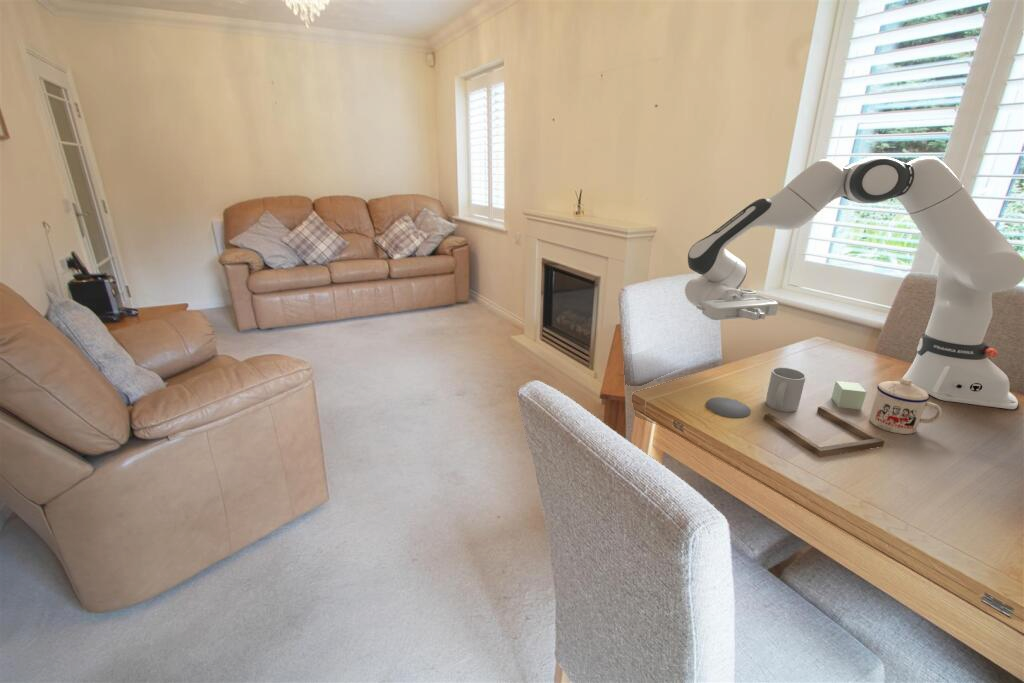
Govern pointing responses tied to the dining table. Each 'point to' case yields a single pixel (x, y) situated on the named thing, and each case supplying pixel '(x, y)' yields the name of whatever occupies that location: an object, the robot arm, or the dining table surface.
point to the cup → (785, 389)
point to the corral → (819, 451)
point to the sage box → (848, 395)
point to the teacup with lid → (901, 407)
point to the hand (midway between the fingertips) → (760, 316)
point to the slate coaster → (728, 407)
